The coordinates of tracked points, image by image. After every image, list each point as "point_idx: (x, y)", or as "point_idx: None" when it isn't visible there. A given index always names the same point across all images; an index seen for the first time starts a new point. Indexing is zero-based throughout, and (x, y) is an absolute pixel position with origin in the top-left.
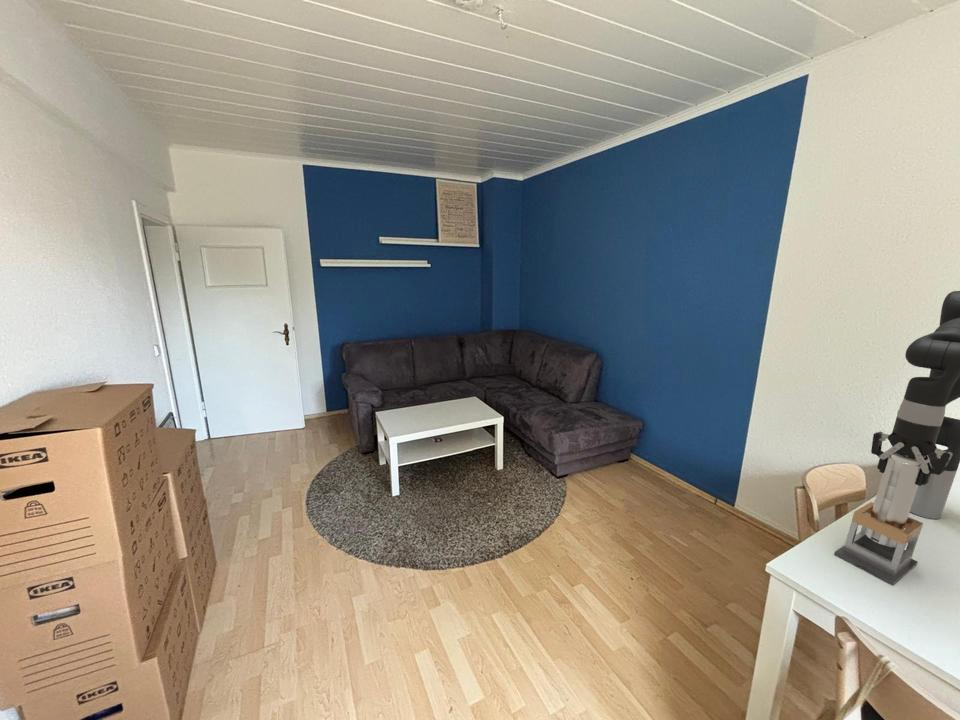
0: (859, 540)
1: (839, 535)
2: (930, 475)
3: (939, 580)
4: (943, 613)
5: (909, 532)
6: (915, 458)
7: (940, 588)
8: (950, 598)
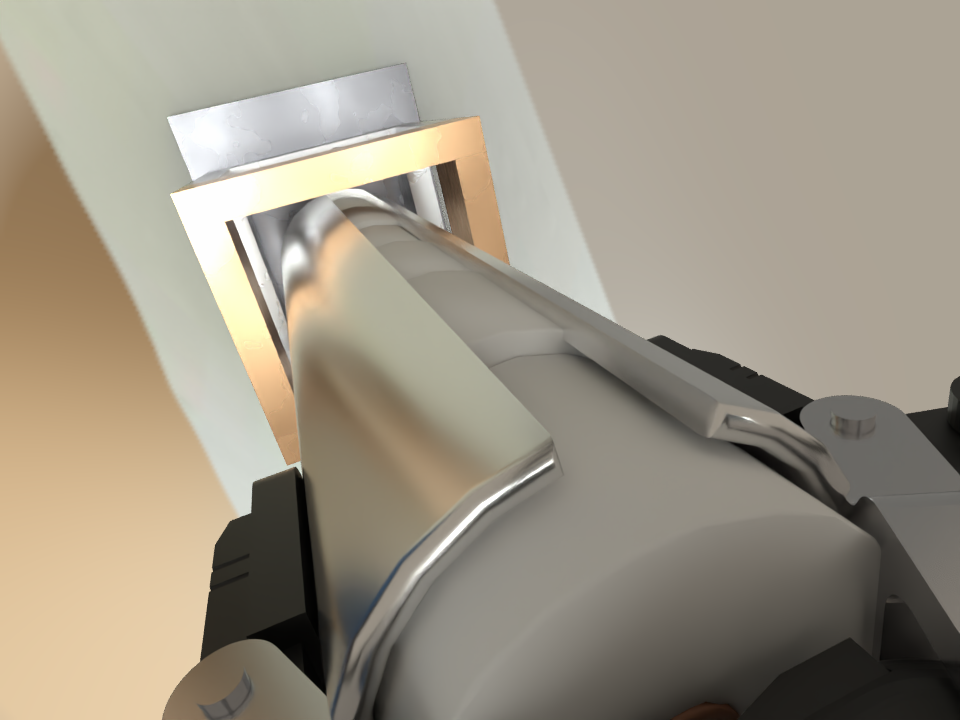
0: (266, 267)
1: (142, 221)
2: (807, 401)
3: (493, 94)
4: (589, 300)
5: None
6: (797, 649)
7: (521, 155)
8: (560, 184)
